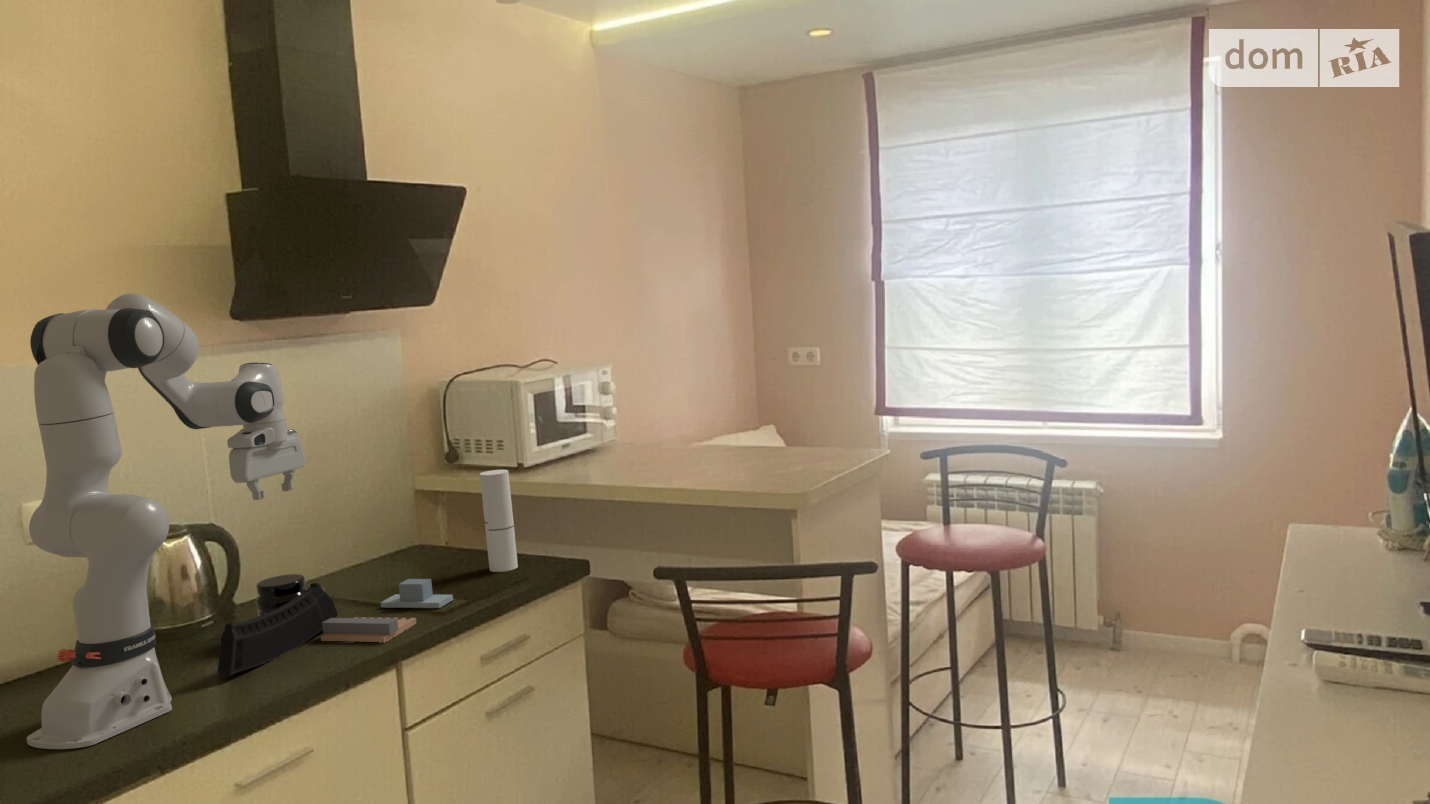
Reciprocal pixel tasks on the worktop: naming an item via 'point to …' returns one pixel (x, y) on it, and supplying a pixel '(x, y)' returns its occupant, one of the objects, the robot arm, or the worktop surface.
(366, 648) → the worktop surface
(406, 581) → the grey plate with knob
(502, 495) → the cylindrical container
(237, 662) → the magazine
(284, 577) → the supplement container
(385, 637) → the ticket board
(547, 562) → the worktop surface
